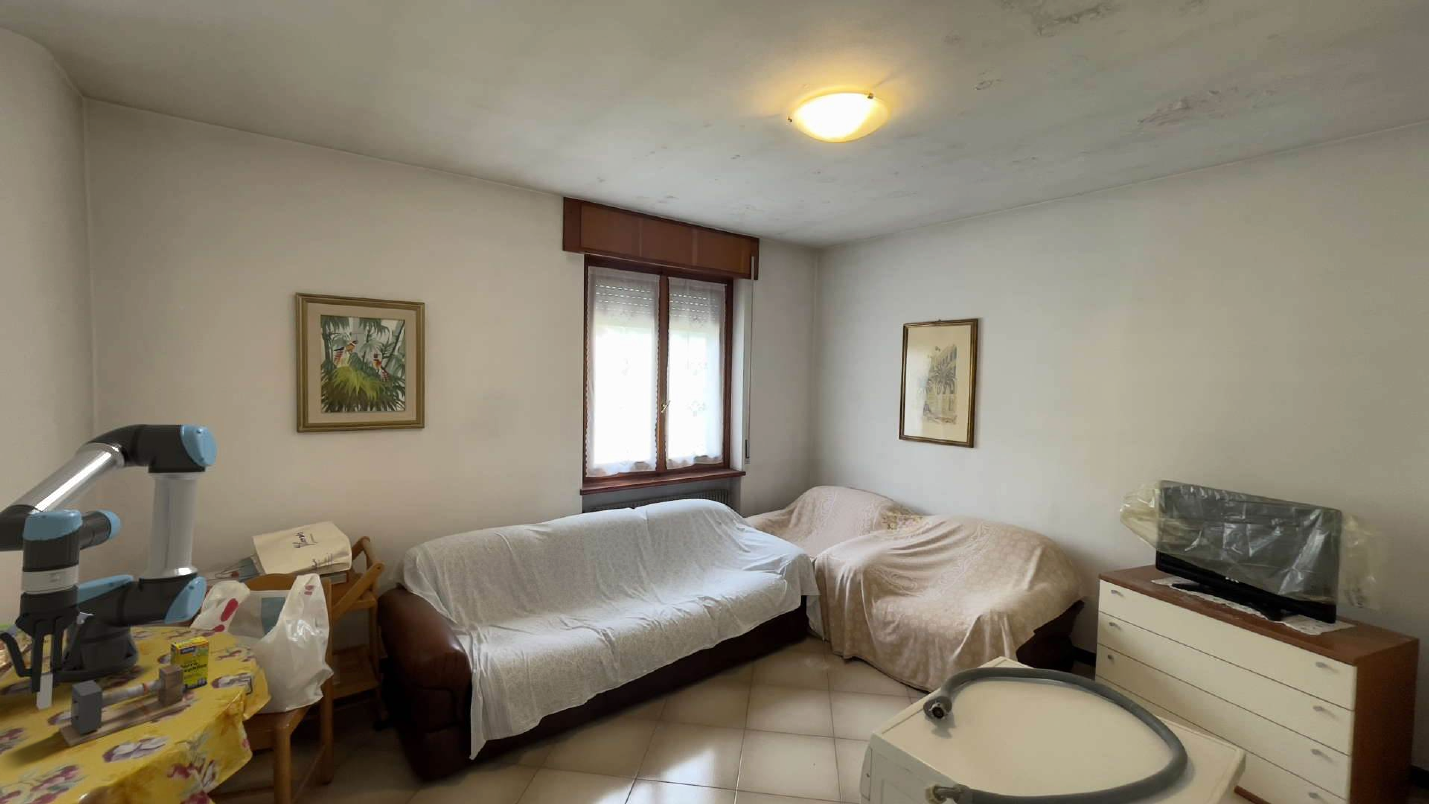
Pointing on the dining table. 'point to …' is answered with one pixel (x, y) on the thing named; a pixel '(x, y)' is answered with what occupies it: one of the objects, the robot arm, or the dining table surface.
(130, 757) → the dining table surface
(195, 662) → the supplement box
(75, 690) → the dark grey flat block
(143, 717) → the pipe rig
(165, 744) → the dining table surface
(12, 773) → the dining table surface
